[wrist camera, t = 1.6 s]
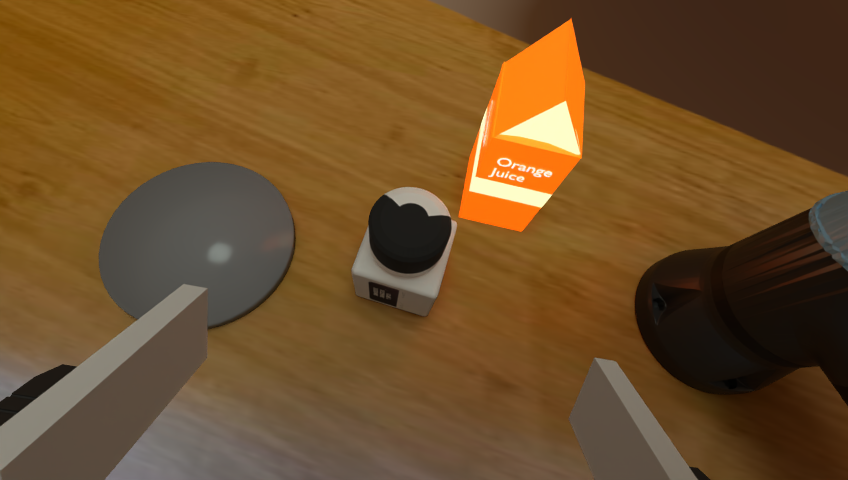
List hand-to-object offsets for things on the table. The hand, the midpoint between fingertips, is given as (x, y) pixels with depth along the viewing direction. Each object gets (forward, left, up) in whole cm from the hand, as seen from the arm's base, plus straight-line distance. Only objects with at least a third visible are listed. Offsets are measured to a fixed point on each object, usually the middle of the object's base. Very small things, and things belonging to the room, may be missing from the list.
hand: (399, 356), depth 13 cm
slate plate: (+7, -23, -26) cm, 35 cm away
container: (-8, -9, -26) cm, 29 cm away
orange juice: (-23, -11, -26) cm, 37 cm away
